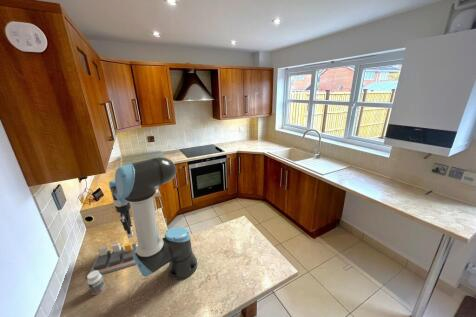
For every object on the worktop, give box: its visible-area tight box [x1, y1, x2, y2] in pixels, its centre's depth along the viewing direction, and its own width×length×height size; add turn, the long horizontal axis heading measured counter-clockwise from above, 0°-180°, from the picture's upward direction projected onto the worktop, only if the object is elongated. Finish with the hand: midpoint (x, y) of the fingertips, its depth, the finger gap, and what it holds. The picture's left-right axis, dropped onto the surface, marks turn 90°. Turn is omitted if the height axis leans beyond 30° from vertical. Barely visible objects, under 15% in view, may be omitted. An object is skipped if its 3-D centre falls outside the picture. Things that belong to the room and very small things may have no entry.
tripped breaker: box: [123, 241, 133, 253], centre depth 112 cm, size 2×3×4 cm
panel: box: [88, 241, 139, 276], centre depth 111 cm, size 16×24×8 cm, turn 110°
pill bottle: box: [86, 270, 106, 296], centre depth 92 cm, size 6×6×10 cm
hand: (130, 236), depth 120 cm, fingers closed
